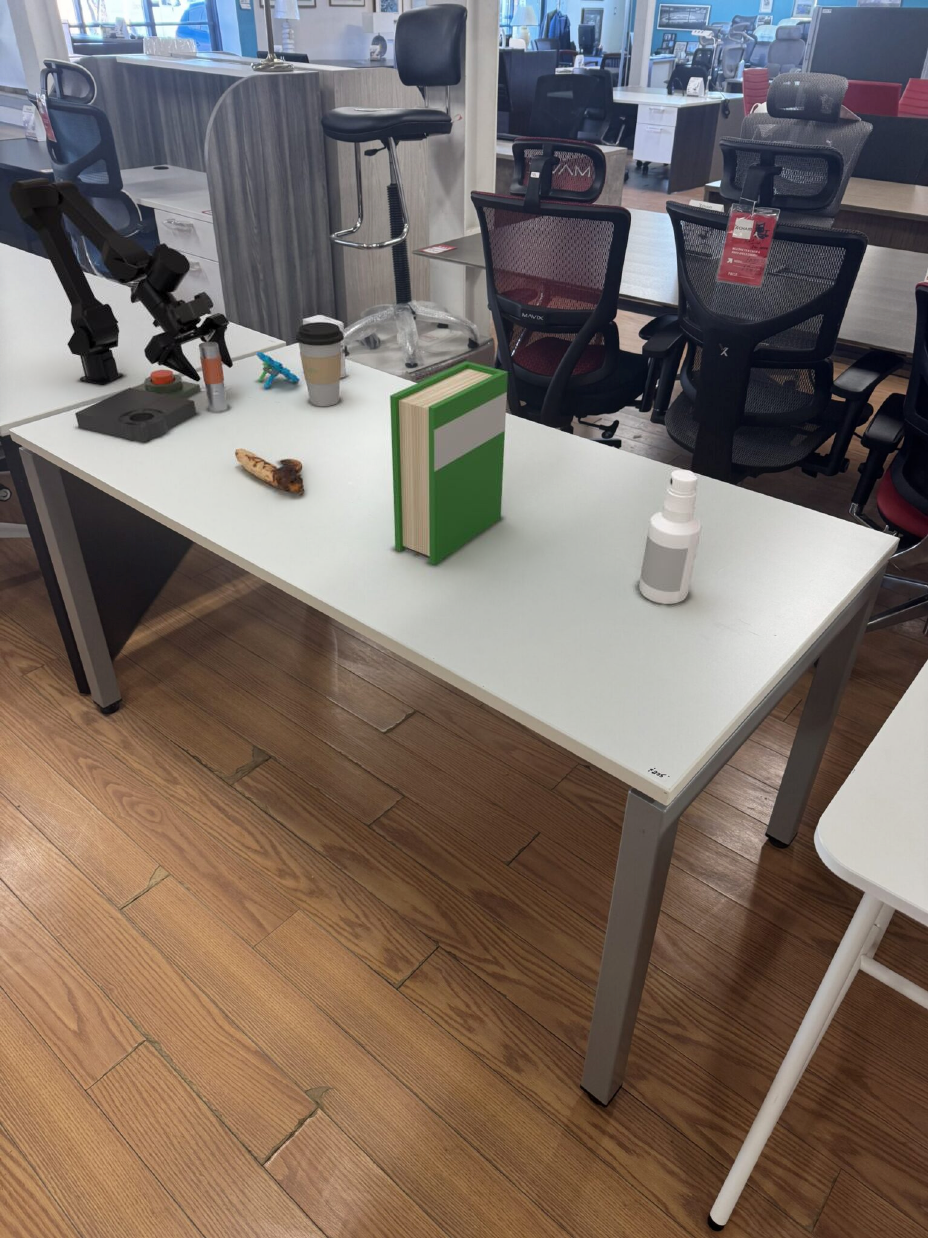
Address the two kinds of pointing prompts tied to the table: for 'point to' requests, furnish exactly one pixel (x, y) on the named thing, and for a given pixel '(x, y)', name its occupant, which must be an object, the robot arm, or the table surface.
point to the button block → (170, 387)
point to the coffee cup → (321, 361)
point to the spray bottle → (672, 543)
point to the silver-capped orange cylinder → (213, 376)
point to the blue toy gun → (274, 370)
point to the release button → (162, 376)
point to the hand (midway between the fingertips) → (215, 373)
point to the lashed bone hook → (273, 471)
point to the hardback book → (448, 458)
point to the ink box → (341, 326)
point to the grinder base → (136, 414)
